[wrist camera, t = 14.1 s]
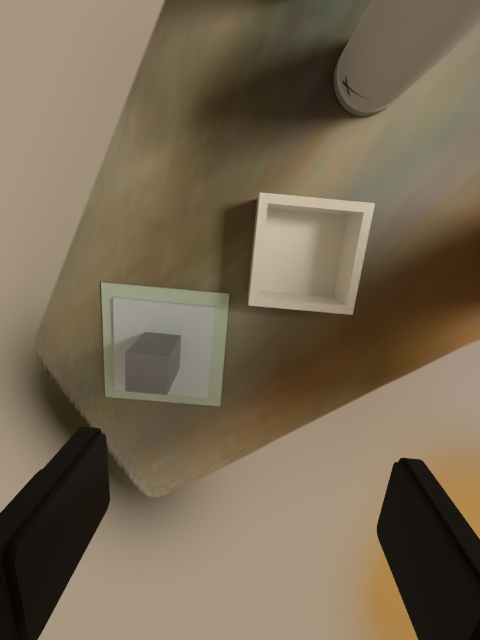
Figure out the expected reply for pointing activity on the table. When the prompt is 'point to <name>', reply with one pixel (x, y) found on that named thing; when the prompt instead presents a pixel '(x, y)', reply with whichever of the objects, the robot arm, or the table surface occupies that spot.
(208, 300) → the mat
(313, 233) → the open square tray
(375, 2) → the travel mug
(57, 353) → the table surface
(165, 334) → the lid
